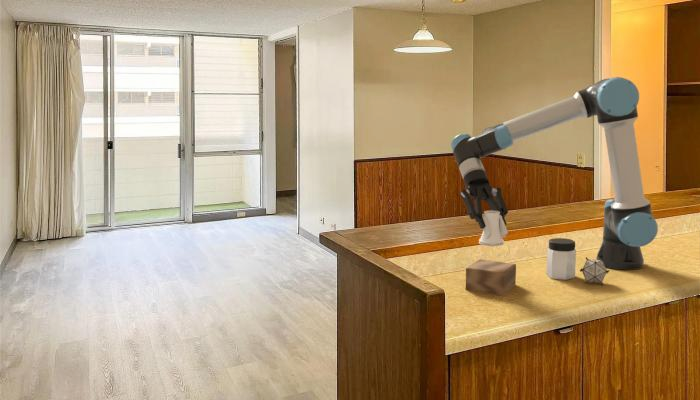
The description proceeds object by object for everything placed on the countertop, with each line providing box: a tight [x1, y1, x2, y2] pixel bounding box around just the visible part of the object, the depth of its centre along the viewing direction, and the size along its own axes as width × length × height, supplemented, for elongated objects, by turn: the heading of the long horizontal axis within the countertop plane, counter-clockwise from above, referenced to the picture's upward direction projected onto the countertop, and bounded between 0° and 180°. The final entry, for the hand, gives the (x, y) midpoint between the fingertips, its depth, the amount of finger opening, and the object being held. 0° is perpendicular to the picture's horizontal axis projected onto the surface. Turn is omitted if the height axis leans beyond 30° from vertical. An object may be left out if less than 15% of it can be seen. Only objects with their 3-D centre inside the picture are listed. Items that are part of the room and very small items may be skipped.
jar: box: [545, 237, 577, 281], centre depth 195 cm, size 9×8×12 cm
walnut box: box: [465, 259, 517, 297], centre depth 185 cm, size 12×12×7 cm
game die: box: [579, 256, 610, 286], centre depth 188 cm, size 9×8×10 cm
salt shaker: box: [478, 209, 505, 247], centre depth 184 cm, size 8×8×10 cm
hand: (497, 235), depth 181 cm, fingers closed on salt shaker, 5 cm apart
